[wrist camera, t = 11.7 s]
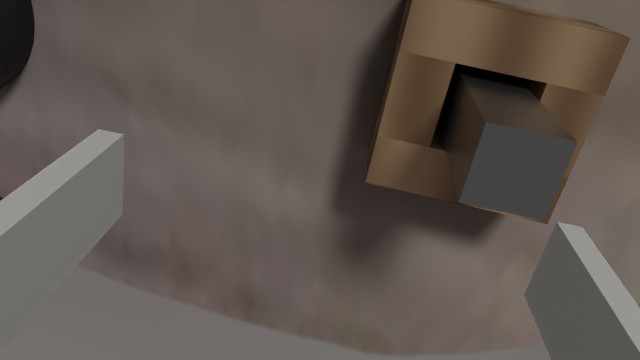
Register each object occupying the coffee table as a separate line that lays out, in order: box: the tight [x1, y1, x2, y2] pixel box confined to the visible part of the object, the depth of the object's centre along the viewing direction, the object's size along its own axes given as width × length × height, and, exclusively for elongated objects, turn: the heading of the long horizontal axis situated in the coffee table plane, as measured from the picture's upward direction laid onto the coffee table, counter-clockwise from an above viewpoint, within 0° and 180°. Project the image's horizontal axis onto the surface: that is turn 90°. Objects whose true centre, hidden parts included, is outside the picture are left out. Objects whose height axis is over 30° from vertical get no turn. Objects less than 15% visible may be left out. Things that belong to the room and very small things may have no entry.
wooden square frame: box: [365, 0, 630, 224], centre depth 36 cm, size 13×13×6 cm
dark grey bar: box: [438, 63, 577, 221], centre depth 32 cm, size 4×4×15 cm
